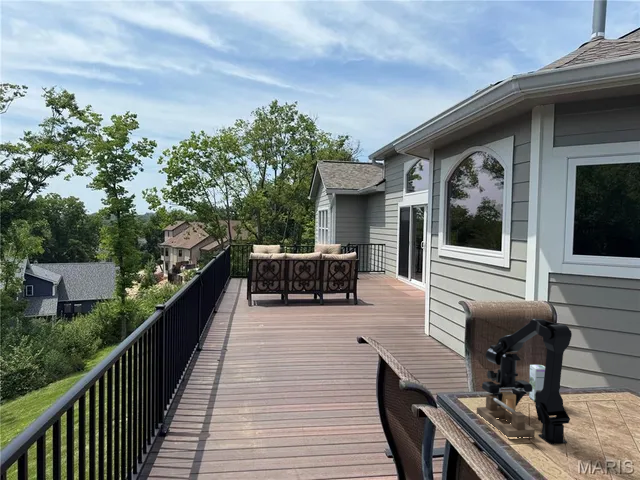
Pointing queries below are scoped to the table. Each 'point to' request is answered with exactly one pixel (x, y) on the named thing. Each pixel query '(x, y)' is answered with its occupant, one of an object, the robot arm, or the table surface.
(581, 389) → the table surface
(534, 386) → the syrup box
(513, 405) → the clip
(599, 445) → the table surface
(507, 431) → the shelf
